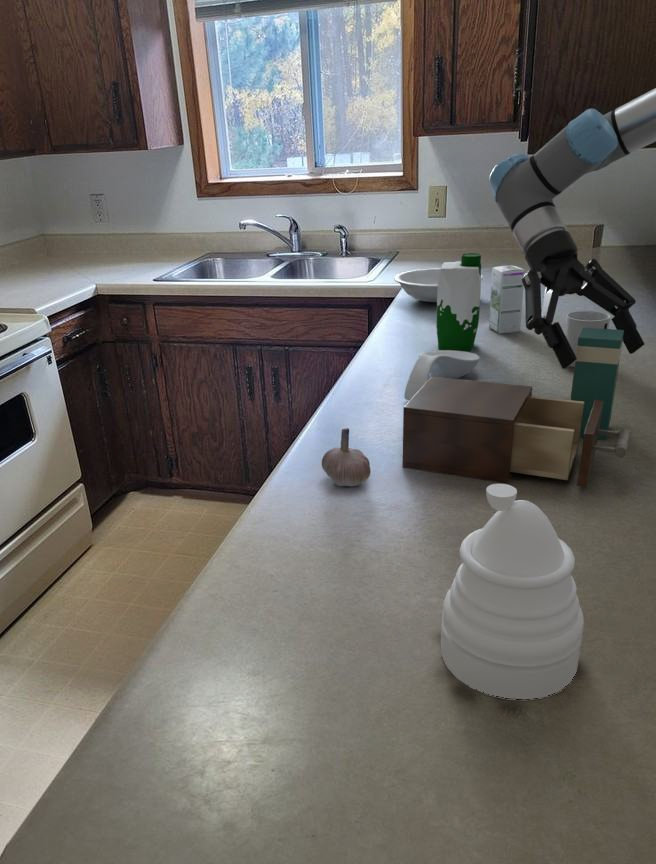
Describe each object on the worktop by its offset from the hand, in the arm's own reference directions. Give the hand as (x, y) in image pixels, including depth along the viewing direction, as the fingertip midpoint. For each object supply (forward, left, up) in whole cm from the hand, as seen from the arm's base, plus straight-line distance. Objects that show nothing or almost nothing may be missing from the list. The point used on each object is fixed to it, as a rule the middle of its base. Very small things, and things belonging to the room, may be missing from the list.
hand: (604, 356), depth 113 cm
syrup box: (+26, -58, -13) cm, 64 cm away
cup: (+6, -36, -13) cm, 38 cm away
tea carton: (+1, -1, -13) cm, 13 cm away
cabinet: (+17, +15, -13) cm, 26 cm away
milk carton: (+33, -41, -13) cm, 54 cm away
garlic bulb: (+31, +29, -13) cm, 45 cm away
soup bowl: (+49, -83, -13) cm, 98 cm away
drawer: (+4, +15, -12) cm, 20 cm away
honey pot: (+2, +59, -13) cm, 61 cm away
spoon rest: (+30, -16, -13) cm, 36 cm away
